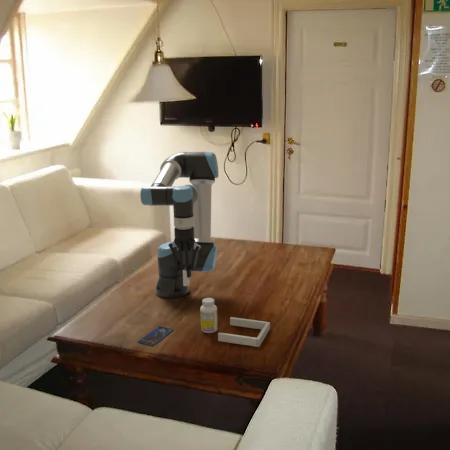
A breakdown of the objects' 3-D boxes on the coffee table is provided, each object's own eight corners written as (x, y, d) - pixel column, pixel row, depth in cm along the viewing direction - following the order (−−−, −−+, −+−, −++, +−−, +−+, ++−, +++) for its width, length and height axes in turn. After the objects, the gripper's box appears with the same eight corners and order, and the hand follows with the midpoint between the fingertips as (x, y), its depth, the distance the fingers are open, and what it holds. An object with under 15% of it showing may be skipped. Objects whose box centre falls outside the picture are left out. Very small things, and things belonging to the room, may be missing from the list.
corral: (218, 340, 221) (218, 333, 220) (231, 323, 235) (230, 317, 234) (259, 347, 216) (259, 339, 215) (269, 329, 229) (269, 322, 229)
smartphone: (136, 341, 221) (158, 325, 234) (136, 343, 221) (158, 327, 234) (153, 345, 218) (174, 329, 230) (153, 347, 218) (174, 331, 231)
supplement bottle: (208, 324, 234) (207, 295, 231) (221, 329, 230) (220, 299, 227) (197, 330, 229) (196, 300, 226) (210, 335, 225) (209, 305, 222)
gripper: (164, 228, 220) (167, 286, 226) (196, 230, 215) (198, 290, 222) (172, 223, 226) (175, 279, 233) (203, 225, 222) (205, 283, 229)
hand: (186, 284), depth 227 cm, fingers closed
